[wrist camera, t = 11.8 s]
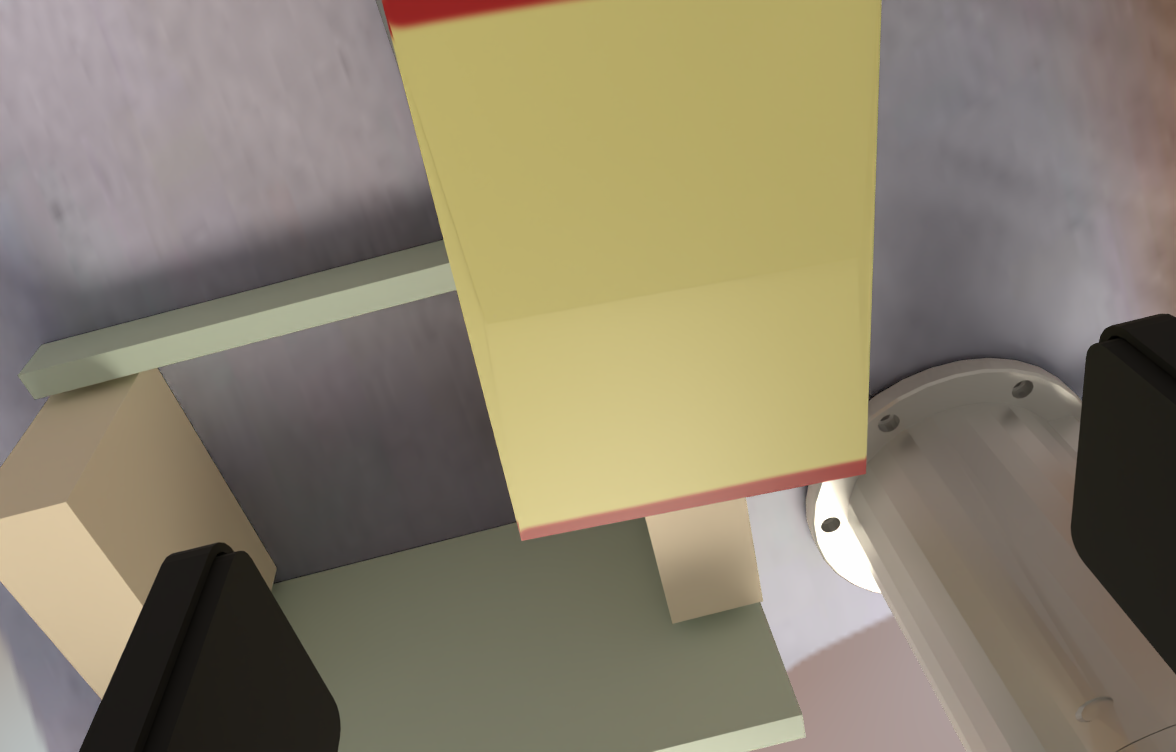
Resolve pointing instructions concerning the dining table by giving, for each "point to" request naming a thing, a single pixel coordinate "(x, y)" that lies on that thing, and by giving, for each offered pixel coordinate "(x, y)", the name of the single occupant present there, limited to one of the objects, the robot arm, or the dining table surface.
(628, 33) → the baking soda box
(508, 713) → the miniature sofa
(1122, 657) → the robot arm
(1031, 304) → the dining table surface
